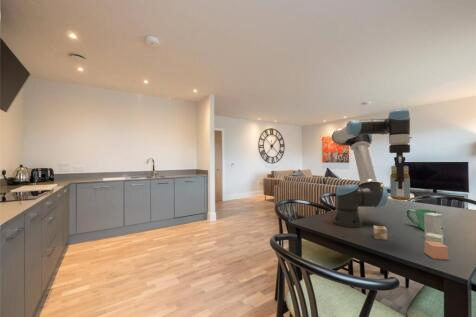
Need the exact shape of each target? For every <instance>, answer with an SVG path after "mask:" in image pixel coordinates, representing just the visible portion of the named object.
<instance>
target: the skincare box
mask: <svg viewBox="0 0 476 317" xmlns="http://www.w3.org/2000/svg"><path fill="white" fill-rule="evenodd" d="M443 218H444V216H443V214H441V213H439V214H438V212H437V213H424V227H425V230H424V239H426V234H427V233H433V234H438V235H443V236H444V224H443V223H444V222H443V220H444V219H443Z"/></svg>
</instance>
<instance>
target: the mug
mask: <svg viewBox="0 0 476 317" xmlns="http://www.w3.org/2000/svg"><path fill="white" fill-rule="evenodd" d="M411 213H414V214H415V216H416V220H417V221H416V220H415V219H414V218H413V217H412V216H411ZM424 213H437V214H440V212H437V211H436V210H433V209H422V208H418V209H412V208H408V209H407V210H406V216H407V218H408V219H409V220H410V221H411V222H412V223H413V224H414V225H416V226H417V227H420V229H421V230H423V231H425V227H424Z"/></svg>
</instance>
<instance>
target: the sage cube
mask: <svg viewBox="0 0 476 317" xmlns="http://www.w3.org/2000/svg"><path fill="white" fill-rule="evenodd" d="M425 241H431V242H440V243H441V244H443V245H444V234H443V235H438V234H433V233H427V234H426V238H425Z"/></svg>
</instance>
